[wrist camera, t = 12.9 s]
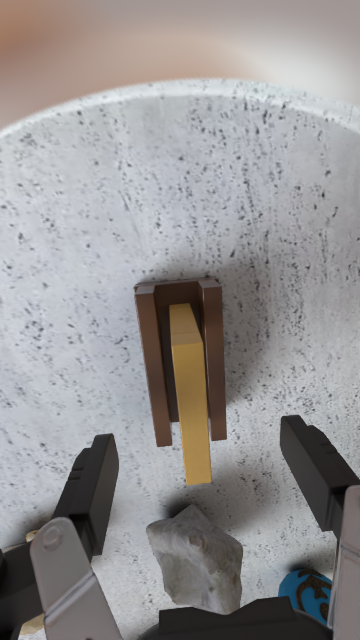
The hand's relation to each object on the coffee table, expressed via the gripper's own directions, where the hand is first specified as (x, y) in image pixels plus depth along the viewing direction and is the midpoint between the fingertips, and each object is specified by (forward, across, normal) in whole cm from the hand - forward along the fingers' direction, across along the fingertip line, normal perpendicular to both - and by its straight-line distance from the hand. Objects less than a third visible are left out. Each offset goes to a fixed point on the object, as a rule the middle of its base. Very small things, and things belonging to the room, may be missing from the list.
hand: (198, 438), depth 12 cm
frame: (+8, 0, 0) cm, 8 cm away
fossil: (+9, +1, +19) cm, 21 cm away
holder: (+9, 0, 0) cm, 9 cm away
